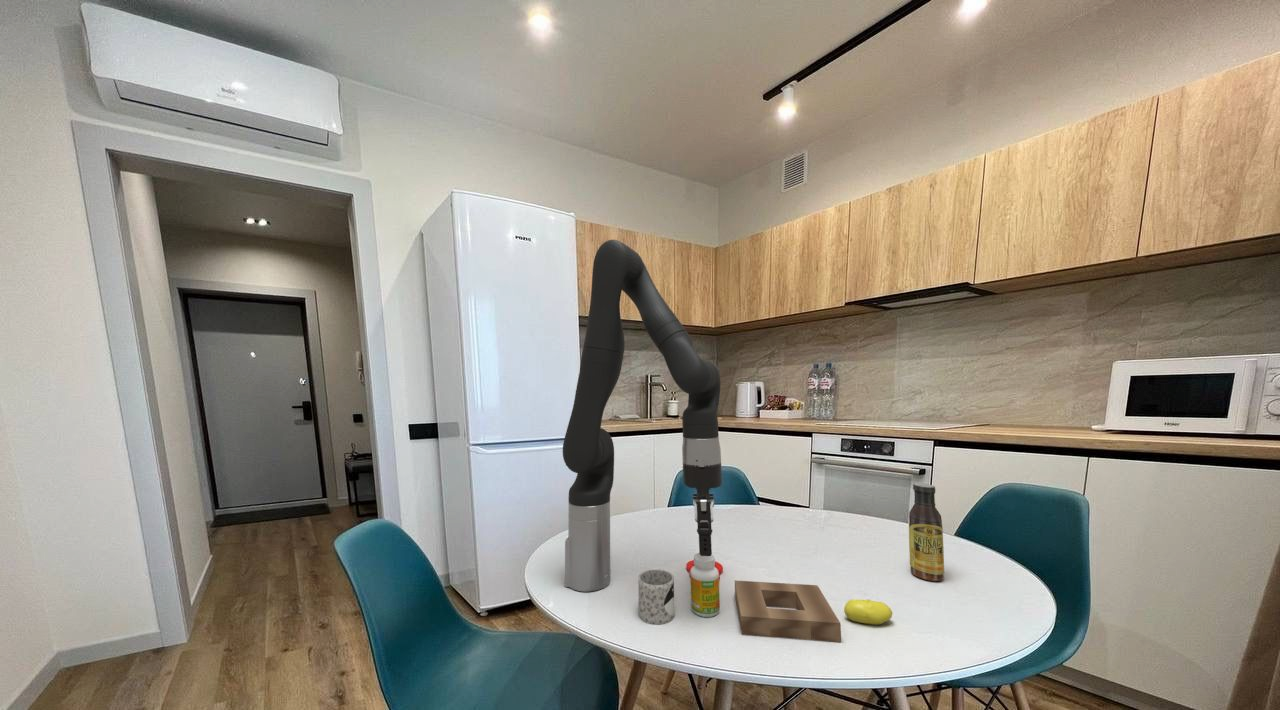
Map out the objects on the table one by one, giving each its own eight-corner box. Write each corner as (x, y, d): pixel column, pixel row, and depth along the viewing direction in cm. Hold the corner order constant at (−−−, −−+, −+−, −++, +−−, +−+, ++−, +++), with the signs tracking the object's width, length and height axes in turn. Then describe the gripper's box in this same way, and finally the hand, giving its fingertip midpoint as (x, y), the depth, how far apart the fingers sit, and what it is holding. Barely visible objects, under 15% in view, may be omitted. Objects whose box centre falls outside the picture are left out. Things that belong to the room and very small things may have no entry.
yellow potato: (841, 613, 74) (840, 591, 74) (888, 618, 72) (887, 595, 73) (848, 626, 70) (847, 603, 70) (898, 631, 68) (897, 607, 69)
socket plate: (741, 634, 68) (741, 616, 68) (734, 595, 80) (734, 580, 81) (841, 642, 65) (840, 623, 65) (818, 601, 78) (817, 585, 78)
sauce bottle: (914, 580, 86) (907, 486, 88) (907, 568, 92) (901, 480, 94) (951, 585, 84) (943, 488, 86) (941, 573, 89) (934, 482, 91)
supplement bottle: (702, 621, 72) (701, 565, 73) (685, 607, 76) (684, 554, 77) (725, 613, 74) (724, 558, 75) (708, 600, 79) (706, 549, 80)
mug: (673, 626, 70) (672, 587, 71) (636, 623, 71) (635, 584, 72) (676, 597, 80) (676, 563, 81) (644, 595, 81) (643, 561, 82)
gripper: (683, 455, 86) (686, 533, 84) (680, 467, 71) (684, 561, 70) (719, 454, 84) (722, 533, 83) (723, 467, 70) (727, 562, 69)
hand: (705, 546), depth 76 cm, fingers open, 8 cm apart
